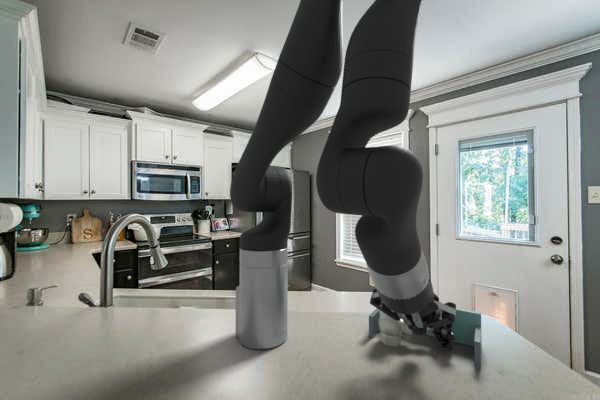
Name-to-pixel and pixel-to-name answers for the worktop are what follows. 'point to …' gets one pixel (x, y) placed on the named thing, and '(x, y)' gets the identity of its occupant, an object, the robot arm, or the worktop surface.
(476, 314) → the walled bay
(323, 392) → the worktop surface
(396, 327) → the valve
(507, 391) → the worktop surface
